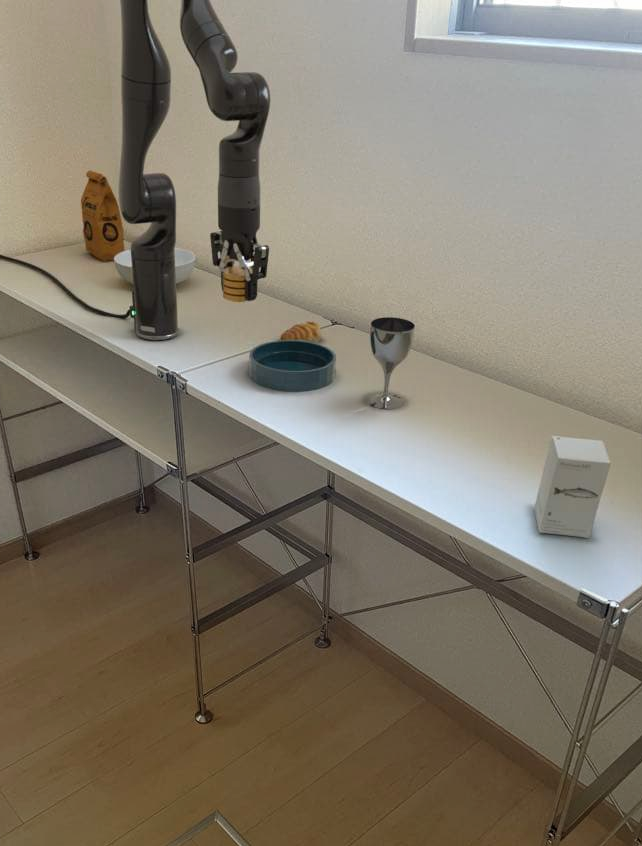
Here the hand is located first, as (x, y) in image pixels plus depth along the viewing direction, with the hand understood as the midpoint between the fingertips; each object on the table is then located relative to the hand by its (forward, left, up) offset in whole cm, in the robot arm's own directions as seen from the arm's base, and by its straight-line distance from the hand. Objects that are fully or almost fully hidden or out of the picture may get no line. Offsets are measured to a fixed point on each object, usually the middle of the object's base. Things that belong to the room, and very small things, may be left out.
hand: (239, 295), depth 156 cm
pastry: (-7, +25, -17) cm, 31 cm away
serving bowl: (-62, +25, -17) cm, 69 cm away
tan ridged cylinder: (0, 0, -1) cm, 1 cm away
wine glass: (+26, +15, -17) cm, 34 cm away
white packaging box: (+72, +2, -17) cm, 74 cm away
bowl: (+6, +9, -17) cm, 20 cm away
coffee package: (-92, +29, -17) cm, 98 cm away
